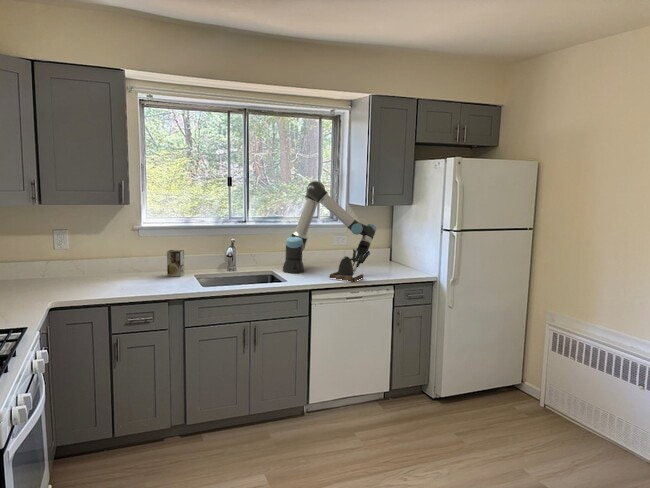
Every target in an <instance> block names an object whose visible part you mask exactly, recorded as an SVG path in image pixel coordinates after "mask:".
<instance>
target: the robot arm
mask: <svg viewBox="0 0 650 488" xmlns="http://www.w3.org/2000/svg"><path fill="white" fill-rule="evenodd" d="M304 198H305V203H304V205H303V208H302V211H301V213H300V217H299V219H298V221H297V225H296V228H295V231H293V232H292V233H291V236H290V237H287V238H286V240H285V260H284V263H283V265H282V272H283V271H284V272H283V273H287V272H288V274H301V273H300V272H302V273H304V272H305V265H304V263H303V251H304V250H305V248H306V244H307V241H308V236H307V234H308V232H309V230H310V226H311V223H312V221H313V218H314V215H315V212H316V210H317V206H318V204H321V205H323V207H324V208H325V209H326V210H328V211H329V212H330V213H331V214H332V215H333V216H334V217H336V219H337V220H339V221H340V222H341V223H342V225H344V226H345V227H346V228H347V229H349V230H350V231H351V233H352V234H353V235H356V236H357V235H361V238H360V241H359V244H358V246H357V248H356V249H354V248H353V249H352V258H354V260H352V261H351V262H353V263H352V265H353V272H354V273H355V272H356V271H357V269H358V268H359V267H360V264H363V263H364V262H365V261H366V260H367V258H368V257H369V256H370V255H371V252H370V251H369V249H370V247H371V244H372V242H373V239H374V237H375V234H376V232H377V227H376V226H375V224H371V223H369V224H367V225H366V224H364V223H362V222H359V221H358V220H356V219H355V218H354V217H353V216H352V215H351V214H350V213H348V212H347V211H346V210H345V209H344V208H343V207H342V206H341V205H340V204H339V203H337V202H336V201H335V200H334V198H332V197H331V196H330V195H329V193H328V191H327V190H326V189H325V186H324V184H323V182H321V181H319V180H315V181H314V180H313V181H311V182H310V183H308V185H307V186H306V193H305V195H304Z"/></svg>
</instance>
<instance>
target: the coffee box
mask: <svg viewBox="0 0 650 488" xmlns="http://www.w3.org/2000/svg"><path fill="white" fill-rule="evenodd" d="M166 262H167V263H166V269H167V273H166V276H167V277H183V276H185V250H182V249H181V250H180V249H170V250H167V251H166Z"/></svg>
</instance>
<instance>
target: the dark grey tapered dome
mask: <svg viewBox="0 0 650 488" xmlns="http://www.w3.org/2000/svg"><path fill="white" fill-rule="evenodd" d="M352 260H354V258H353V257H351V258H350V257H349V256H346V255H345V256H343V257H342V259H341V260H340V263H339V264H338V265H339V266H338V270H337V272H338V274H339V275H340V276H347V277H353V276H354V273H355V272H353V263H352V262H353V261H352Z"/></svg>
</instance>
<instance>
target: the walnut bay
mask: <svg viewBox="0 0 650 488" xmlns="http://www.w3.org/2000/svg"><path fill="white" fill-rule="evenodd" d="M328 278H336V279H342V280H348V281H353V282H352V283H356V282H355V281H357V280H359V279H361V278H363V279H364V274H360V275H357V276H355V277H353V276H352V277H347V276H340V275H339V274H338V271H335V272H333V273H329V277H328ZM359 281H360V280H359ZM357 282H358V281H357Z"/></svg>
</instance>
